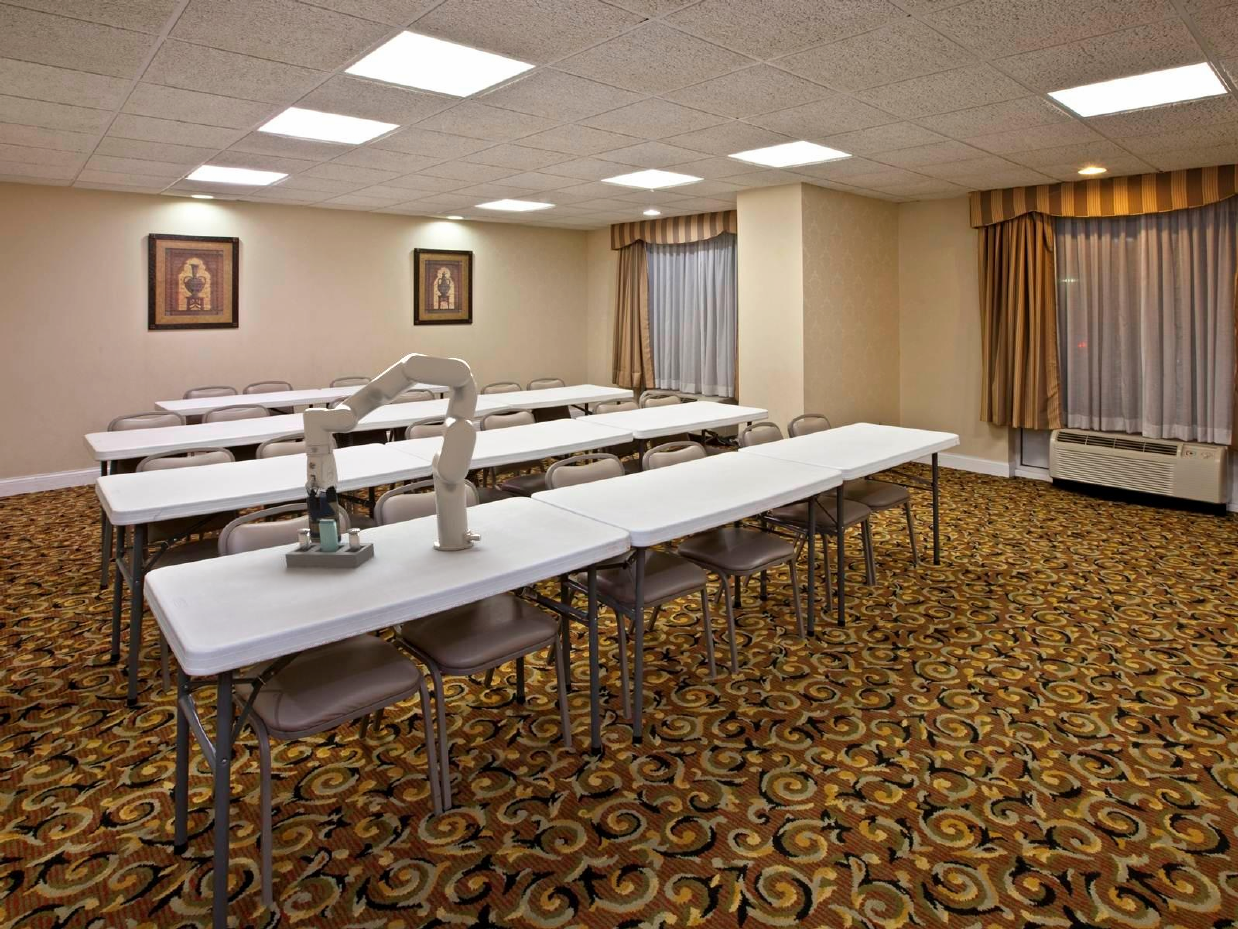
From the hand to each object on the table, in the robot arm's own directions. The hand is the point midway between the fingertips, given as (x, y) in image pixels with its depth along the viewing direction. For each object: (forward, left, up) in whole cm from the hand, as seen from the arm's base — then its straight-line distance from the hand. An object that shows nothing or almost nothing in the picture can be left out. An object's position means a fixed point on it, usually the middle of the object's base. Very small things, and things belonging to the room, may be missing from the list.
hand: (323, 505), depth 224 cm
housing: (0, 0, -18) cm, 17 cm away
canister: (+10, -17, -18) cm, 27 cm away
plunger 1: (+8, 0, -16) cm, 18 cm away
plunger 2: (-8, 0, -16) cm, 18 cm away
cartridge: (0, 0, -18) cm, 18 cm away
